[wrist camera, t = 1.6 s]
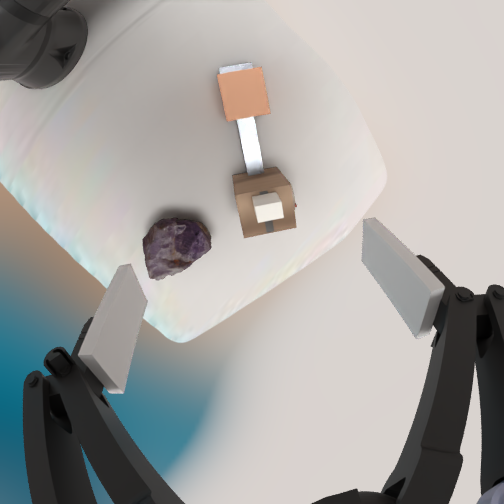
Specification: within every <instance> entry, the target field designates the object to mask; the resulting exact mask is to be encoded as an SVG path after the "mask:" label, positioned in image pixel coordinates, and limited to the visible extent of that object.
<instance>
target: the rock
mask: <svg viewBox="0 0 504 504" xmlns="http://www.w3.org/2000/svg"><path fill="white" fill-rule="evenodd" d="M177 219H178V218H172V219H162V220H160V221H159V222H157V223H155V224H154V225H153V227H152V228H150V230H149V232H148V234H147V235H146V236H145V237H144V238H143V251H144V254H145V263H146V267H147V270H148V274H149V278H150V279H156V280H157V281H158V280H160V279H164V278H165V277H166V276H167V275H171V276H173V275H174V274H176V273H179V272H182V271H183V270H185V269H186V268H188V267H189V266H190V265H191V264H192V263H193V262H194V261H196V260H197V259H198V258H200V257H201V256H202V255H203V254H206V253H207V252H208V251H209V250H210V249H211V235H210V234H209V232H208V230H207V228H206V227H205V226H204V225H203V224H202V223H201V222H194V221H191V220H177Z"/></svg>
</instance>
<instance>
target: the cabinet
mask: <svg viewBox="0 0 504 504" xmlns="http://www.w3.org/2000/svg"><path fill="white" fill-rule="evenodd" d="M232 176H233V184H234V193H235V199H236V203H237V208H238V212H239V217H240V221H241V226H242V230H243V235H244V238H248V237H253V236H257V235H262V234H267V233H272V232H277V231H282V230H287V229H292V228H296V219H295V212H294V210H295V207H297V205H296V203H295V199H294V193H293V189H292V186H291V184H290V182H288V180H287V179H286V178H285V176H284V175H283V174H282V173H281V172H280V170H279V169H278V168H277V167H273V168H267V169H264V173H262V174H257V175H252V176H248V174H247V173H242V174H237V175H232ZM273 192H276V193H277V194H278V196H279V198H280V200H281V202H282V208H283V215H284V218H280V219H275V220H270V221H265V222H260V223H258V221H257V218H256V214H255V210H254V205H253V200H252V197H253V196H258V195H263V194H268V193H273Z"/></svg>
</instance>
